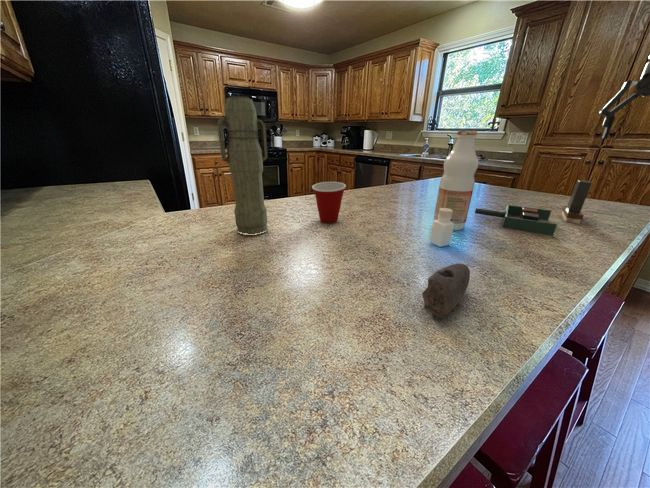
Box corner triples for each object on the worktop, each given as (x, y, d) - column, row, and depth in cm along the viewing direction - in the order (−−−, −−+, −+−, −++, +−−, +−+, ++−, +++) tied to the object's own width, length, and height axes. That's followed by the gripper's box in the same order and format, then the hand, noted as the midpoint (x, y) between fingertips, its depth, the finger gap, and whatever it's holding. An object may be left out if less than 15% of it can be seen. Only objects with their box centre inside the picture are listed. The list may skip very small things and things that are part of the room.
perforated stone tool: (448, 281, 54) (455, 249, 51) (476, 291, 51) (485, 258, 48) (411, 313, 44) (417, 277, 42) (442, 329, 41) (451, 290, 38)
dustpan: (547, 220, 92) (551, 210, 91) (553, 235, 78) (557, 224, 77) (477, 209, 103) (479, 200, 102) (471, 221, 89) (473, 211, 88)
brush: (574, 215, 98) (588, 179, 93) (580, 224, 89) (596, 184, 84) (560, 213, 100) (573, 178, 95) (564, 221, 91) (579, 183, 86)
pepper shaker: (438, 240, 74) (445, 206, 71) (450, 245, 71) (458, 210, 67) (428, 242, 73) (434, 208, 69) (439, 247, 69) (446, 212, 66)
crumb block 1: (533, 220, 92) (537, 209, 90) (533, 223, 89) (537, 211, 87) (519, 218, 94) (522, 207, 92) (519, 221, 91) (523, 209, 89)
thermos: (277, 231, 79) (269, 97, 65) (237, 239, 73) (219, 93, 59) (266, 223, 86) (256, 100, 72) (228, 230, 80) (210, 96, 66)
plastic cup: (305, 221, 88) (304, 184, 83) (326, 214, 96) (326, 180, 91) (330, 228, 82) (331, 189, 77) (351, 220, 89) (353, 184, 85)
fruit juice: (426, 223, 87) (441, 130, 76) (447, 219, 91) (464, 130, 80) (449, 232, 80) (470, 130, 69) (471, 228, 83) (494, 131, 72)
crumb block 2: (534, 226, 86) (538, 214, 85) (534, 229, 83) (539, 217, 82) (519, 223, 88) (523, 212, 87) (519, 227, 85) (523, 214, 84)
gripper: (727, 56, 74) (686, 139, 82) (603, 66, 86) (579, 137, 94) (746, 49, 68) (700, 139, 76) (610, 62, 80) (583, 138, 88)
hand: (633, 138), depth 85 cm, fingers open, 13 cm apart
